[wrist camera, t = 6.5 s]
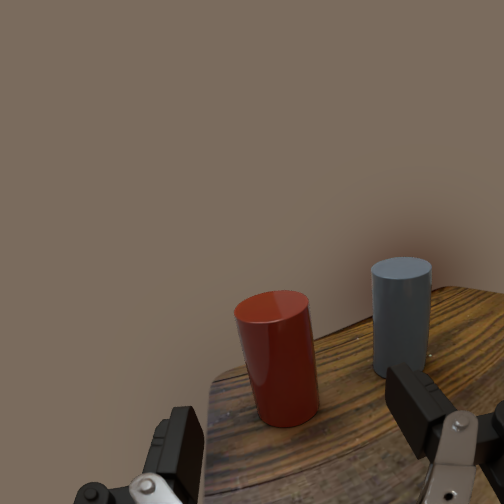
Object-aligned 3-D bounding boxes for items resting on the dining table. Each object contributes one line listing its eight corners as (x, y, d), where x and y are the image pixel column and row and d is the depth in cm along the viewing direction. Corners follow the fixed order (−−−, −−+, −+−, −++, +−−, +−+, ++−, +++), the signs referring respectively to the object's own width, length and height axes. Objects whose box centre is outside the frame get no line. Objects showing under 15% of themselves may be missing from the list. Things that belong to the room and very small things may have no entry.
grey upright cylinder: (388, 388, 23) (391, 284, 21) (364, 358, 28) (360, 265, 26) (435, 367, 23) (444, 267, 21) (407, 342, 29) (408, 253, 26)
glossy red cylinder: (262, 434, 21) (236, 329, 19) (254, 394, 27) (231, 299, 24) (327, 417, 22) (318, 311, 19) (310, 381, 27) (297, 284, 25)
